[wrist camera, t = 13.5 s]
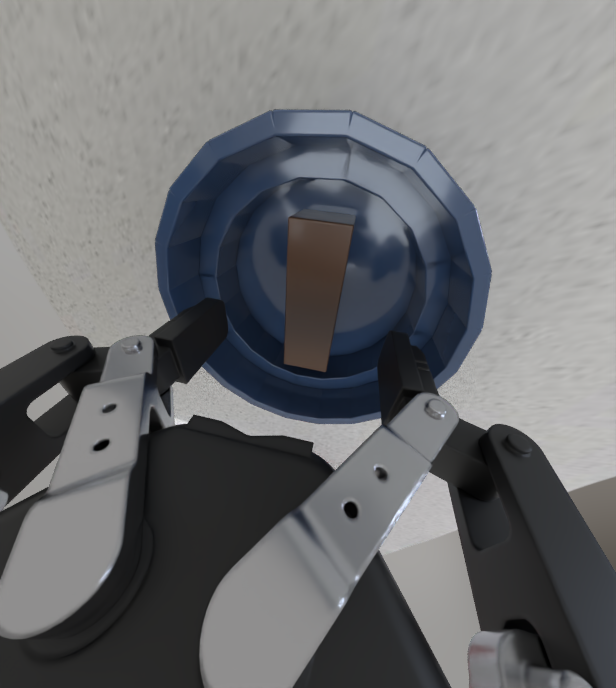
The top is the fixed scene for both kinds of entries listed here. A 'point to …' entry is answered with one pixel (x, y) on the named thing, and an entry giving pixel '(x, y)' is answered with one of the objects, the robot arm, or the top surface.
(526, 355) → the top surface
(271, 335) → the bowl
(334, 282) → the bar
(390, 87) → the top surface
